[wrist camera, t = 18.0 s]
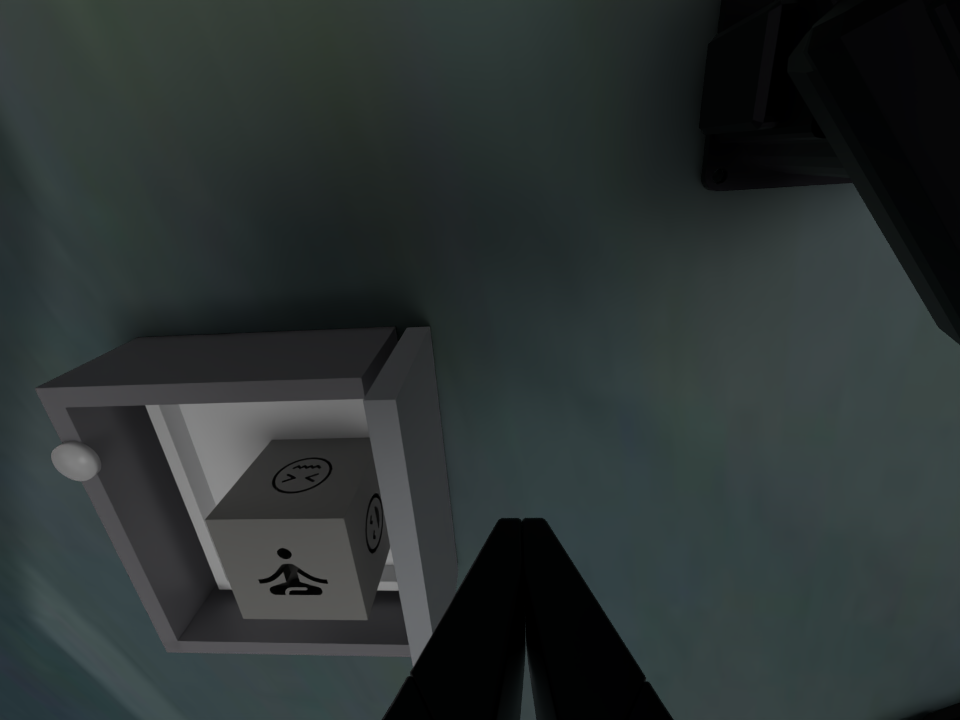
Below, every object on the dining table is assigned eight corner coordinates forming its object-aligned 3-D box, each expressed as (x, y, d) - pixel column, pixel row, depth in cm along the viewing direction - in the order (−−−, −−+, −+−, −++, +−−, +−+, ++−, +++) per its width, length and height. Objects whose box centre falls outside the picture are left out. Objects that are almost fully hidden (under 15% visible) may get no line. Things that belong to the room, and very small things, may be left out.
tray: (429, 326, 20) (395, 399, 14) (458, 570, 25) (441, 695, 20) (167, 337, 21) (31, 409, 15) (250, 569, 26) (175, 688, 20)
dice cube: (296, 526, 23) (243, 619, 18) (271, 439, 21) (204, 519, 16) (397, 525, 22) (367, 620, 18) (381, 436, 20) (343, 518, 16)
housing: (395, 326, 20) (358, 381, 15) (430, 567, 26) (411, 663, 21) (129, 337, 21) (16, 392, 16) (219, 566, 27) (154, 658, 22)
